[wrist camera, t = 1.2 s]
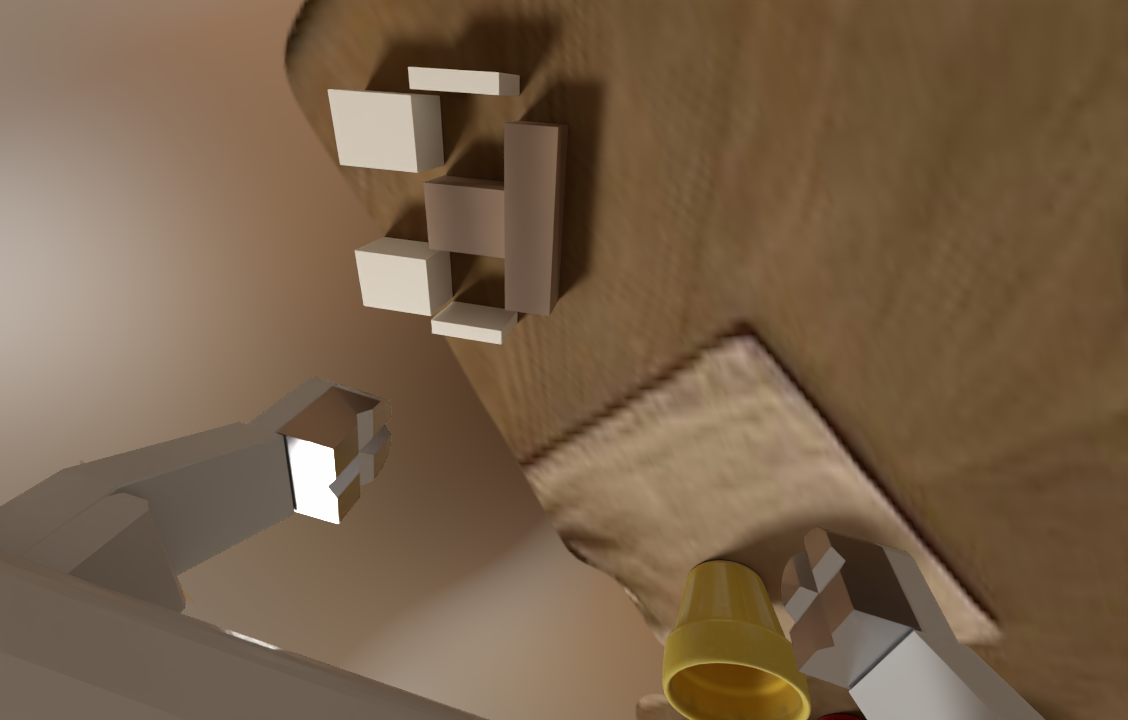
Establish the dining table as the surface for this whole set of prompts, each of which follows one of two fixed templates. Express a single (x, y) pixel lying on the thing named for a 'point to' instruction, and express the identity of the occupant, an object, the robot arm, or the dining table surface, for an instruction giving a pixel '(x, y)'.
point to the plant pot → (731, 651)
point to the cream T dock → (414, 144)
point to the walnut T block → (510, 214)
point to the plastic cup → (840, 717)
